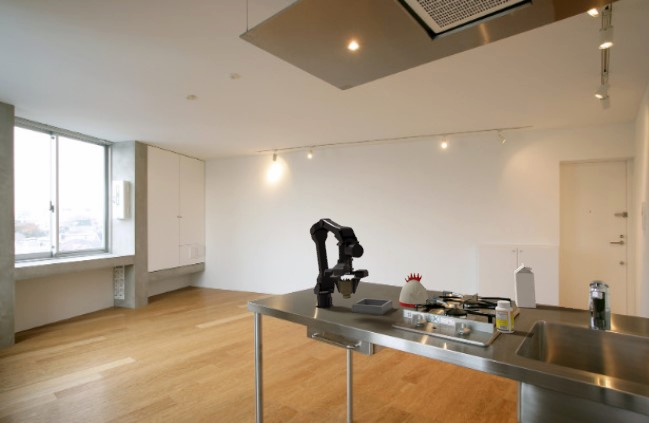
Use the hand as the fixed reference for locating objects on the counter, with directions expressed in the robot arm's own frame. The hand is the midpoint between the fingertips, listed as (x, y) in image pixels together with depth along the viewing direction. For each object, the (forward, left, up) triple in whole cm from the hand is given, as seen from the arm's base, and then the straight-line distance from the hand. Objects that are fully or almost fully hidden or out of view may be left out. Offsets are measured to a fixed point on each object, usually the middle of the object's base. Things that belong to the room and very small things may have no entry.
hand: (346, 293), depth 149 cm
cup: (0, 0, -2) cm, 2 cm away
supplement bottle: (+60, +2, -10) cm, 61 cm away
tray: (+6, +14, -10) cm, 18 cm away
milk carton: (+66, +45, -10) cm, 81 cm away
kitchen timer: (+20, +32, -10) cm, 39 cm away
